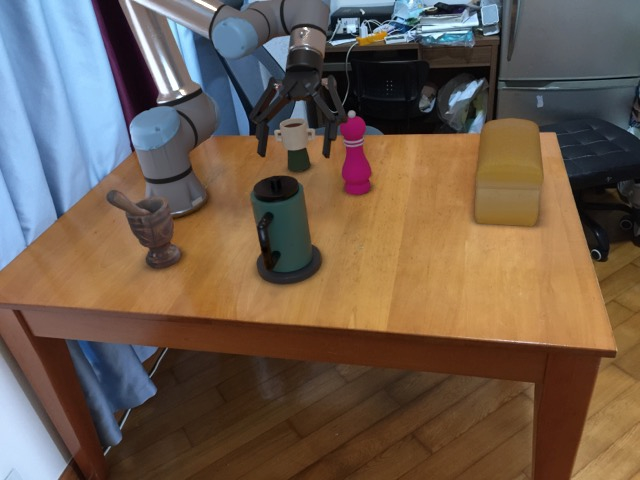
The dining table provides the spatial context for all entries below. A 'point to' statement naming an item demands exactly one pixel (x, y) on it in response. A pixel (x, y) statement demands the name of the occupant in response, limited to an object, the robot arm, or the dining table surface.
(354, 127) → the pepper mill
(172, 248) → the mortar and pestle
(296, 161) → the character mug
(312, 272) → the kettle base
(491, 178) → the bread
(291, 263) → the kettle
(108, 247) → the dining table surface
